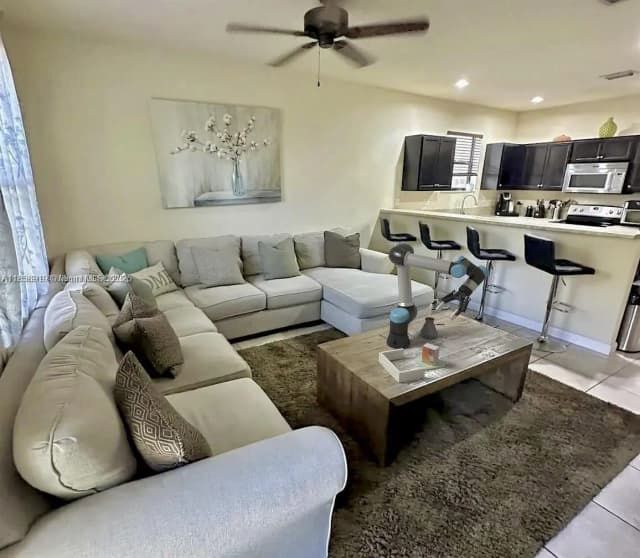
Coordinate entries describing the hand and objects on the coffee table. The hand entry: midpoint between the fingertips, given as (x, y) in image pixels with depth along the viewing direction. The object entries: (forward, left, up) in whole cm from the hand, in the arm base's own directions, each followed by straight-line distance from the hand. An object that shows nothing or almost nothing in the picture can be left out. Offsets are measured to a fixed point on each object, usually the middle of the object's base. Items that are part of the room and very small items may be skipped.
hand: (443, 314), depth 209 cm
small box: (+5, -11, -27) cm, 29 cm away
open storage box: (+5, -30, -28) cm, 41 cm away
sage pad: (+5, -11, -28) cm, 30 cm away
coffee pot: (-23, +10, -28) cm, 38 cm away
